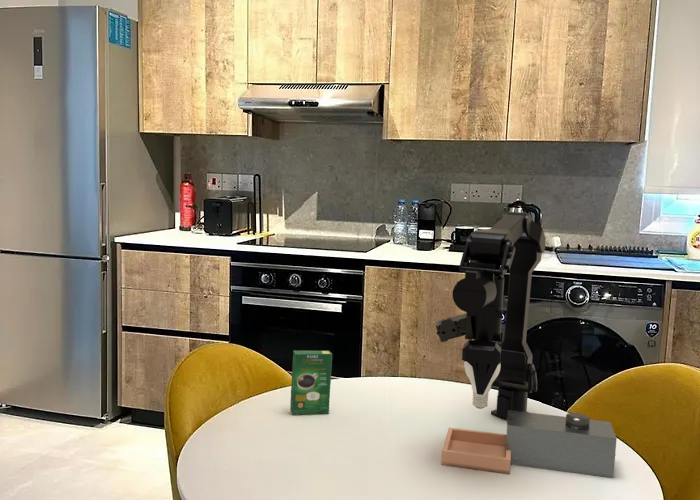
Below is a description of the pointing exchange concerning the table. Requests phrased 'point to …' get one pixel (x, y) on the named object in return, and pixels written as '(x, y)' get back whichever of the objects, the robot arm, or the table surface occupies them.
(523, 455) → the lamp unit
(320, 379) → the coffee box
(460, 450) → the dish
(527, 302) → the robot arm
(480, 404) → the lightbulb
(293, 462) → the table surface
